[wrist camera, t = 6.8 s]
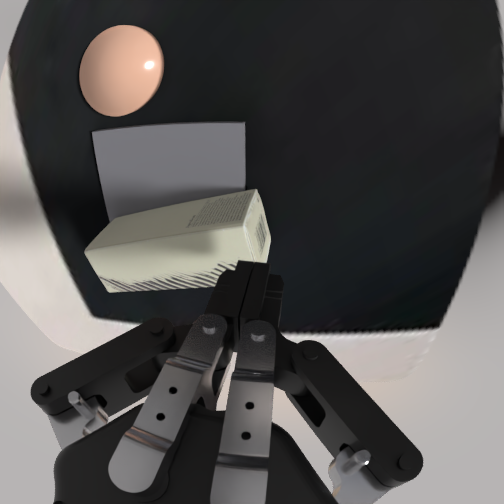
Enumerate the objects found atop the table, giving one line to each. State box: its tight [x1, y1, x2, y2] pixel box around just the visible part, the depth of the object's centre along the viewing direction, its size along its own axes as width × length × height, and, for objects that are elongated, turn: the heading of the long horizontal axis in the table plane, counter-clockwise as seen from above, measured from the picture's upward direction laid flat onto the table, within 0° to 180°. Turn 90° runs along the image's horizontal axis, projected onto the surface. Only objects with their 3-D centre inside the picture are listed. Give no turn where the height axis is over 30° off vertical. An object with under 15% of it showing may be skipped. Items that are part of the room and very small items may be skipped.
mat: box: [92, 122, 245, 222], centre depth 22 cm, size 11×12×1 cm
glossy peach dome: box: [79, 25, 164, 116], centre depth 16 cm, size 7×7×1 cm
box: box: [84, 189, 271, 292], centre depth 21 cm, size 5×4×13 cm
